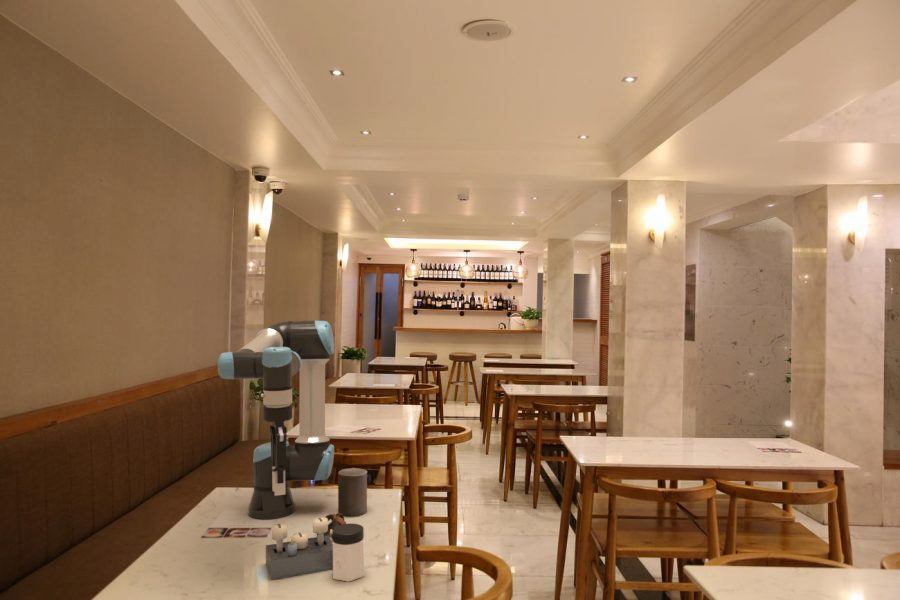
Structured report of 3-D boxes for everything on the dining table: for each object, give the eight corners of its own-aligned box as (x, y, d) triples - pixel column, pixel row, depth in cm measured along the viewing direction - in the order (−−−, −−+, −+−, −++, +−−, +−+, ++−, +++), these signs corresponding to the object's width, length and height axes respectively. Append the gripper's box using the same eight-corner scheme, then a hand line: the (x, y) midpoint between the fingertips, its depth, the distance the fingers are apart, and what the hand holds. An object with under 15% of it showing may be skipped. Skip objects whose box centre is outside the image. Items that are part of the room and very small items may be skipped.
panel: (266, 563, 172) (265, 545, 172) (327, 552, 178) (327, 535, 178) (271, 580, 162) (271, 560, 162) (336, 568, 168) (336, 549, 168)
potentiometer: (287, 553, 166) (286, 536, 166) (296, 551, 167) (296, 534, 167) (288, 556, 164) (288, 539, 164) (297, 555, 165) (297, 537, 165)
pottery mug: (349, 546, 184) (335, 524, 183) (322, 558, 186) (308, 536, 184) (357, 521, 196) (344, 500, 194) (332, 533, 198) (318, 512, 196)
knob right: (312, 547, 174) (311, 518, 174) (326, 544, 175) (326, 515, 175) (314, 552, 170) (314, 522, 170) (329, 550, 172) (329, 520, 171)
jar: (325, 578, 162) (324, 532, 162) (341, 565, 170) (341, 521, 170) (355, 583, 159) (354, 536, 159) (371, 570, 167) (370, 525, 166)
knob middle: (291, 562, 171) (291, 533, 171) (306, 560, 173) (306, 530, 173) (294, 568, 168) (294, 538, 168) (309, 565, 169) (309, 535, 169)
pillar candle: (338, 518, 206) (339, 472, 206) (337, 508, 215) (337, 464, 215) (368, 516, 208) (368, 471, 208) (365, 506, 218) (365, 463, 218)
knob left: (271, 554, 169) (270, 524, 169) (286, 551, 171) (285, 521, 171) (273, 559, 166) (272, 529, 166) (288, 557, 167) (288, 526, 167)
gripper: (259, 401, 174) (260, 485, 174) (267, 411, 159) (268, 503, 159) (287, 399, 177) (288, 482, 177) (297, 408, 162) (298, 499, 162)
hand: (278, 492), depth 168 cm, fingers open, 3 cm apart
